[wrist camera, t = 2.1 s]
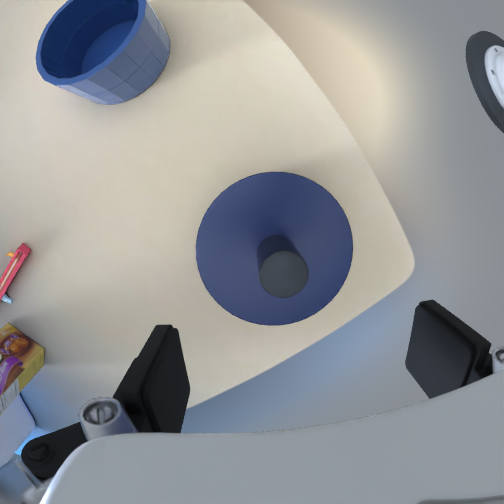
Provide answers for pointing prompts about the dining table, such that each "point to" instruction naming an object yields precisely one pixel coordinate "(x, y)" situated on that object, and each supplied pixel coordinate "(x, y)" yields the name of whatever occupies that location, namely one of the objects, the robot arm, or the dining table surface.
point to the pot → (103, 49)
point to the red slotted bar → (12, 270)
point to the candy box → (16, 363)
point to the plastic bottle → (14, 428)
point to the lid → (274, 248)
